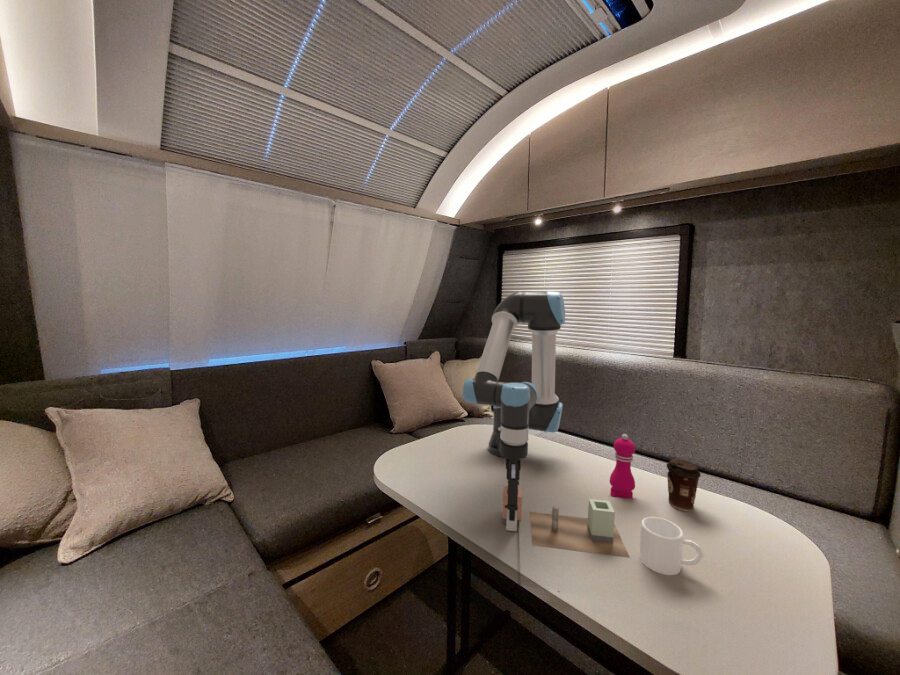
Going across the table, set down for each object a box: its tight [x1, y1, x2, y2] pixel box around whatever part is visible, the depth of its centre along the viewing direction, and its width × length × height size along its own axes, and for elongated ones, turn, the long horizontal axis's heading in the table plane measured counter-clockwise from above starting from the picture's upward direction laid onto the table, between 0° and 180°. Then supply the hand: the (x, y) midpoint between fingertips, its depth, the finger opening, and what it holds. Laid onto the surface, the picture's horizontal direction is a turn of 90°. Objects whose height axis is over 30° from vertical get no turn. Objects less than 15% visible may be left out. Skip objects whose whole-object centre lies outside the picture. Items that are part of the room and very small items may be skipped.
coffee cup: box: [665, 458, 701, 512], centre depth 106 cm, size 9×8×13 cm
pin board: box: [529, 505, 631, 559], centre depth 90 cm, size 14×22×8 cm, turn 80°
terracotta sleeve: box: [501, 485, 523, 526], centre depth 98 cm, size 5×5×8 cm
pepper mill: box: [609, 433, 636, 500], centre depth 110 cm, size 7×7×20 cm
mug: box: [638, 516, 705, 576], centre depth 79 cm, size 8×12×10 cm
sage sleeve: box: [587, 498, 616, 543], centre depth 89 cm, size 5×5×8 cm
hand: (511, 518), depth 98 cm, fingers open, 10 cm apart
